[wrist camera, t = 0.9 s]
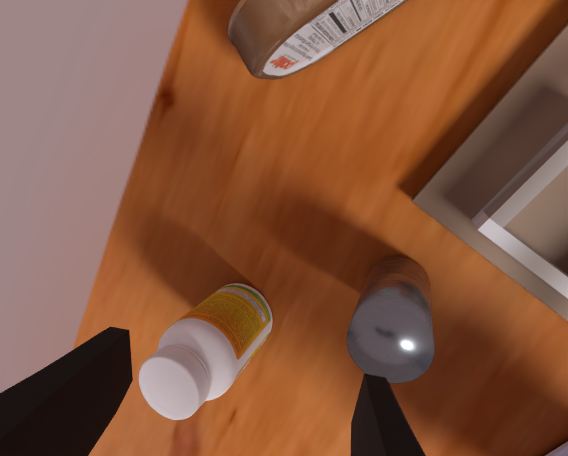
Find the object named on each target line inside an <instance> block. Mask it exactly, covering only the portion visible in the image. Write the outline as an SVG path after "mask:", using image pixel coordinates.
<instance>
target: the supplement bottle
mask: <svg viewBox="0 0 568 456" xmlns="http://www.w3.org/2000/svg"><path fill="white" fill-rule="evenodd" d="M272 323H273V319H272V313H271V309H270V307H269V305H268V303H267V301H266V300H265V298H264V297H263V296H262V295H261V294H260V293H259V292H258V291H257V290H255V289H254V288H252V287H250V286H247V285H244V284H239V283H234V284H228V285H225V286H223V287H221V288H220V289H218V290H217V291H216V292H214V293H213V294H212V295H211V296H209V297H208V298H207V299H205V300H204V301H203V302H201V303H200V304H199V305H197V306H196V307H195V308H194V309H192V310H191V311H190V312H188V313H187V314H186V315H184V316H183V317H182V318H180V319H179V320H178V321H176V322H175V323H174V324H173V325H172V326H170V327H169V328H168V329H167V330H166V331H165V333H164V334H163V336H162V337H161V339H160V342H159V346H158V351H156V352H155V353H154V354H153V355H152V356H151V357H149V358H148V359H147V360H146V361H145V362H144V363H143V365H142V367H141V369H140V372H139V385H140V389H141V391H142V394H143V396H144V398H145V399H146V401H147V402H148V403H149V405H150V406H151V407H152V408H153V409H154V410H155V411H156V412H158V413H159V414H161V415H162V416H164V417H167V418H169V419H173V420H182V419H186V418H188V417H190V416H192V415H193V414H194V413H195V412H196V410H197V409H198V408H199V407H200V406H201V405H202V404H203V403H204V402H205V401H208V400H213V399H215V398H218V397H219V396H221V395H222V394H224V393H225V392H226V391H227V390H228V389H229V388H230V386H231V385H232V384H233V383H234V381H235V380H236V379H237V377H238V376H239V375H240V373H241V372H242V371H243V369H244V368H245V367H246V365H247V364H248V363H249V361H250V360H251V359H252V358H253V356H254V355H255V354H256V352H257V351H258V350H259V348H260V347H261V346H262V344H263V343H264V342H265V340H266V339H267V337H268V336H269V334H270V332H271V329H272Z"/></svg>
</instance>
